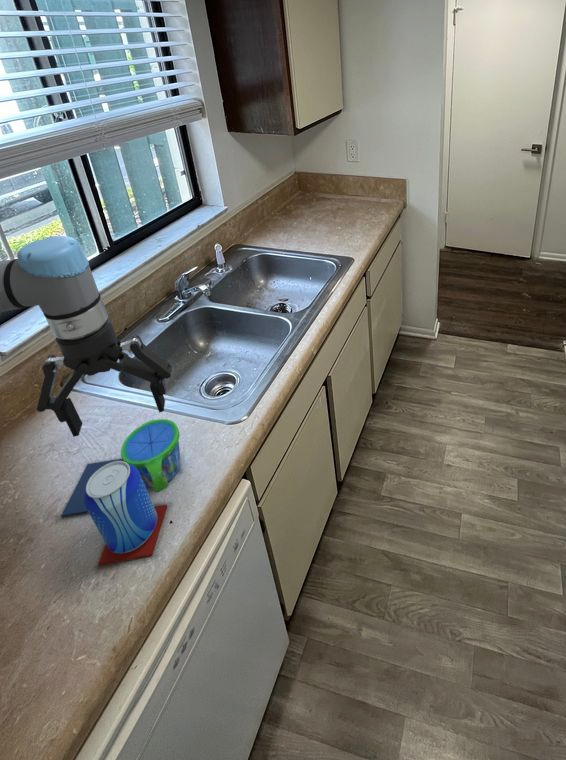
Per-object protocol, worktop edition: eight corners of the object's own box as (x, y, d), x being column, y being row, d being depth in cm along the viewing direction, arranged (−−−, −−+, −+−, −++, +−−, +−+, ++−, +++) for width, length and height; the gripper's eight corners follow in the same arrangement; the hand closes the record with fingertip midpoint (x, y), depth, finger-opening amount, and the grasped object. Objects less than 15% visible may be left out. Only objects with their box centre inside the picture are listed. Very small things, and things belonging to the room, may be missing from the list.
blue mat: (62, 517, 86) (61, 515, 86) (88, 465, 96) (87, 463, 95) (122, 506, 88) (121, 505, 87) (142, 457, 97) (141, 455, 97)
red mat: (98, 565, 78) (97, 564, 78) (119, 514, 86) (118, 512, 86) (152, 555, 80) (151, 553, 79) (167, 506, 88) (166, 504, 87)
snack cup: (190, 493, 90) (179, 460, 86) (132, 517, 86) (117, 484, 81) (187, 434, 103) (177, 403, 98) (136, 452, 98) (123, 421, 94)
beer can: (162, 538, 82) (138, 484, 75) (109, 567, 77) (79, 513, 70) (156, 501, 88) (133, 447, 81) (107, 526, 84) (79, 472, 77)
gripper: (-24, 363, 64) (32, 459, 73) (164, 321, 72) (193, 412, 81) (-2, 332, 70) (47, 423, 79) (168, 296, 78) (195, 383, 88)
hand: (121, 418), depth 80 cm, fingers open, 13 cm apart
